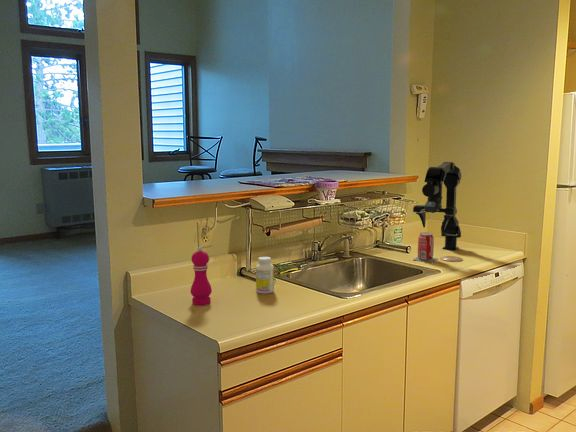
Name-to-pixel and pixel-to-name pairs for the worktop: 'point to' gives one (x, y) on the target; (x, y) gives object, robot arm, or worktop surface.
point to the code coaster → (425, 260)
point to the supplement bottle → (264, 276)
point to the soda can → (425, 246)
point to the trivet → (451, 258)
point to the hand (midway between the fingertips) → (434, 228)
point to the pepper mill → (200, 279)
